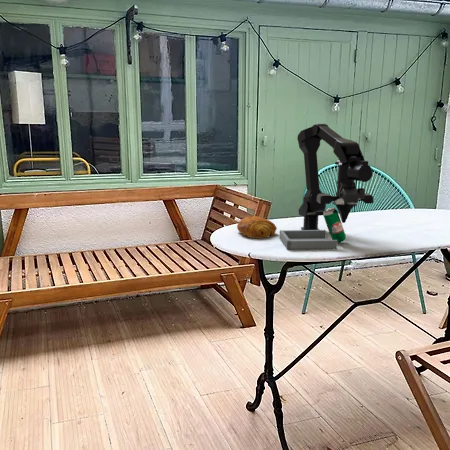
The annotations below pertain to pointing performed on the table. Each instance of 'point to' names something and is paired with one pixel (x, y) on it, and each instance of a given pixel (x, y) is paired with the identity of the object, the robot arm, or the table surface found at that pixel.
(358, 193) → the robot arm
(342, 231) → the soda can
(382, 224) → the table surface
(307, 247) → the tray
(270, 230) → the croissant
